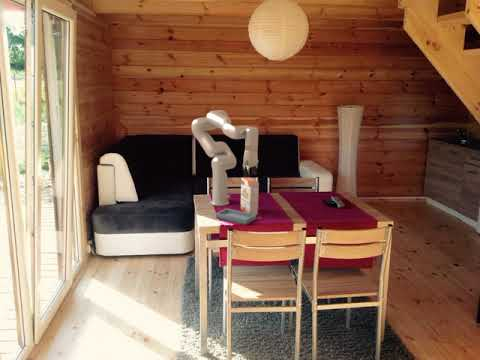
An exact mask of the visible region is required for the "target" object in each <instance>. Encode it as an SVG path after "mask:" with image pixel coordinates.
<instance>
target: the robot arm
mask: <svg viewBox="0 0 480 360" xmlns="http://www.w3.org/2000/svg"><path fill="white" fill-rule="evenodd" d="M217 128H219V129H221V131H222V133H223V134H224V135H225V136H227V137H228V138H230V139H233V140H241V139H244V140H245V144H244V146H245V147H244V154H243V163H242V170H243V178H244V177H246V178H249V177H250V169H251V174H252V175H255V176H256V175H258V165H259V160H258V147H259V146H258V145H259V129H258V128H257V127H254V126H253V127H252V126H249V125H238V126H234V125H232V119H231V118H230V117H229V115H228V113H227V112H226V111H225V110H223V109H217V110H211V111H209V112H207V114H206V116H205V117H198V118H195V119H193V120H192V122H191V132H192V135H193V137H195V139H197V141H198V143H199V144H200V146H201V148H202V149H203V150H204V152H205V154H206V155H207V156H208V157H209V158H212V160H211V162H210V163H211V169H212V194H211V195H212V199H211V200H210V201H209V203H210V204H211V205H212V206H219V207H221V206H227V205H229V204H230V201H229V200H228V199H229V198H231V196H230V194H228V175H227V172H226V171H227V170H230V169H234V168H235V167H236V165H237V158H236V156H235V155H234V153H233V152H232V150H231V148H230V147H229V146H228V144H227V143H226V142H224V141H215V140H214V139H213V137H212V136H211V135H210V134H209V133H208V132H207V131H212V130H215V129H217Z"/></svg>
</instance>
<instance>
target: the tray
mask: <svg viewBox="0 0 480 360" xmlns="http://www.w3.org/2000/svg"><path fill="white" fill-rule="evenodd" d="M256 218H257V215H255V214H250V213H245V212H244V211H242V210H241V211H239V210H235V209H232V208H231V209H230V208H224V209H221V210H220V211H217V212H216V213H215V219H219V220H223V221H228V222H230V223H231V222H232V223H234V224H235V223H236V224H240V225H244V226H247V225H249V224H250V223H252V222H254V221H256V220H257V219H256Z"/></svg>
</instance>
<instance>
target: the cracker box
mask: <svg viewBox="0 0 480 360" xmlns="http://www.w3.org/2000/svg"><path fill="white" fill-rule="evenodd" d="M240 181H241V183H240V210H241V211H242V212H245V213H250V214H255V215H256V216H258V215H259V190H260V189H259V188H260V187H259V186H260V183H259V181H257V180H255V179H254V178H252V177H250V176H249V178H246V177H244V176H243V177H241V180H240Z"/></svg>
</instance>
